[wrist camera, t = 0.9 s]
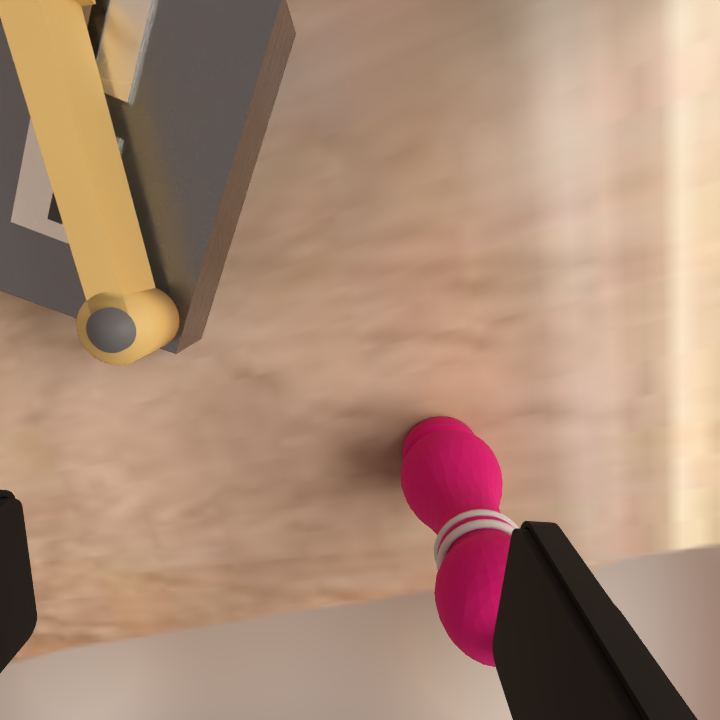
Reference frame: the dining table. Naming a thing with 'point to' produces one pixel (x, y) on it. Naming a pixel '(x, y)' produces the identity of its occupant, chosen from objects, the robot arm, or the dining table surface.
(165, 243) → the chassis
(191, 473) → the dining table surface
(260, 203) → the dining table surface
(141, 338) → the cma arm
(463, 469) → the pepper mill
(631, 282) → the dining table surface
